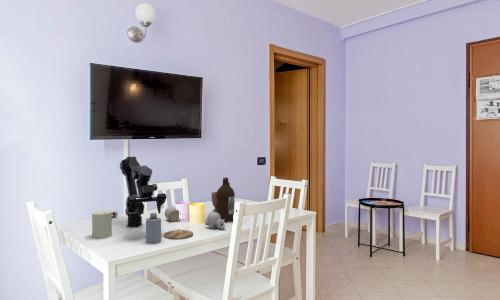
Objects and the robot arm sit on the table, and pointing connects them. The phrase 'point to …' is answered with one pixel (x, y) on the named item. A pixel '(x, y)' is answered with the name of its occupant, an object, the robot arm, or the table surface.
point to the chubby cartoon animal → (215, 221)
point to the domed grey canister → (153, 229)
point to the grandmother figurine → (114, 213)
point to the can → (101, 224)
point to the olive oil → (225, 201)
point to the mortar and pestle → (215, 200)
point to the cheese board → (178, 234)
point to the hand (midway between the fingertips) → (150, 214)
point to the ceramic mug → (172, 214)
